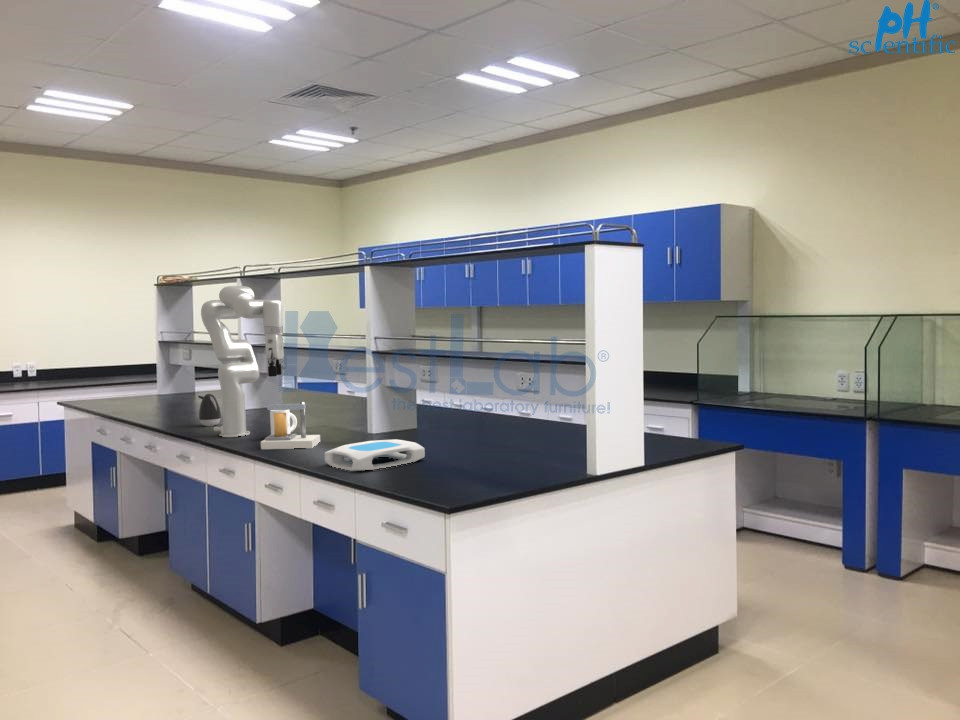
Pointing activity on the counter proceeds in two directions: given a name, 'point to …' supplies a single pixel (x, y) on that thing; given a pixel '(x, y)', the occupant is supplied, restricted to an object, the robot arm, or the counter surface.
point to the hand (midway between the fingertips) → (275, 375)
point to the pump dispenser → (209, 410)
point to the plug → (280, 425)
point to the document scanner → (373, 454)
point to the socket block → (290, 442)
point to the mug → (288, 416)
